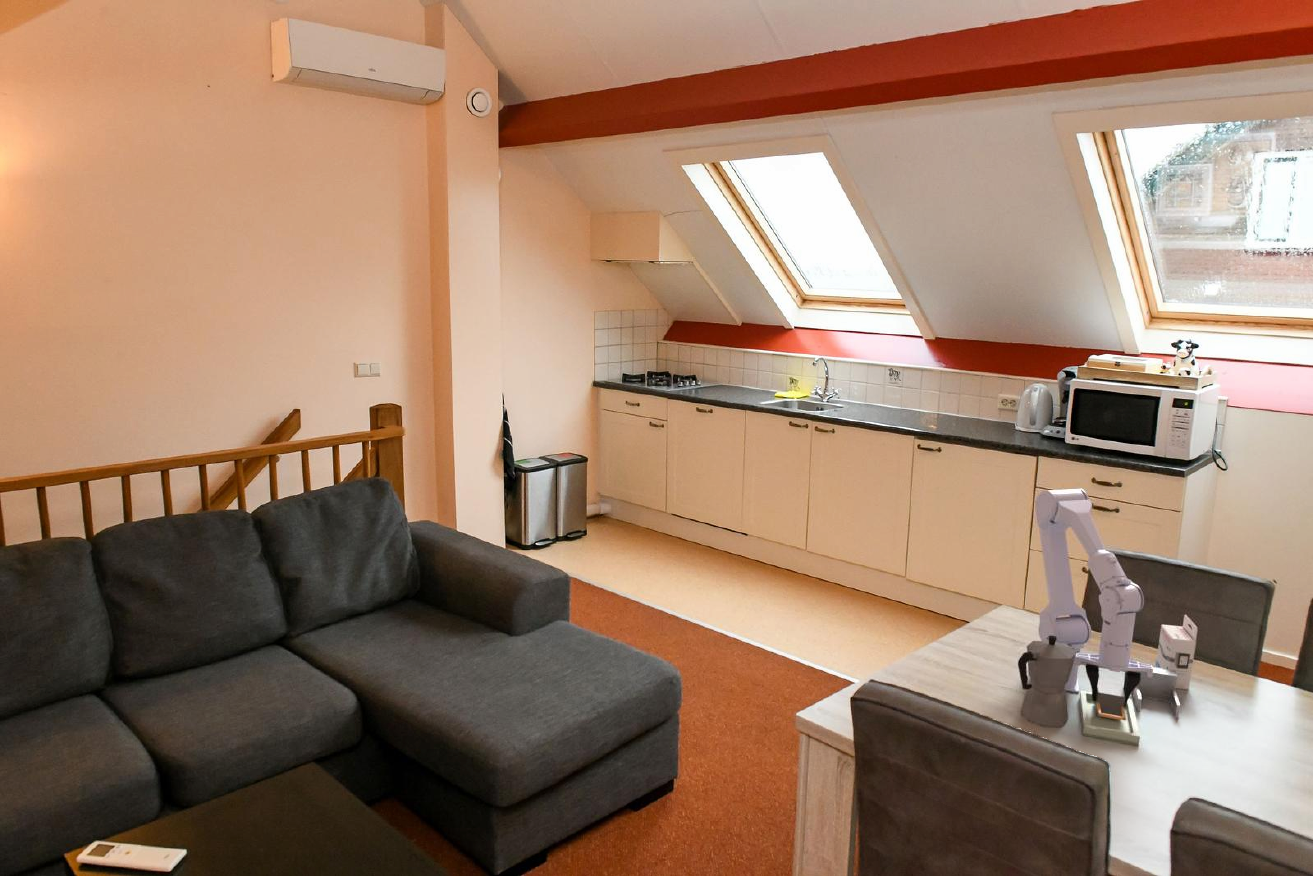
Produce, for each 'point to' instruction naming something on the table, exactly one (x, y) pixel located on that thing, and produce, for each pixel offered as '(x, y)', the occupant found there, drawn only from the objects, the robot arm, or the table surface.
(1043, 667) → the coffeepot
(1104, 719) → the green tray
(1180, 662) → the ink box
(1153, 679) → the steel bay
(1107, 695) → the orange handle block
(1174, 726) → the table surface
